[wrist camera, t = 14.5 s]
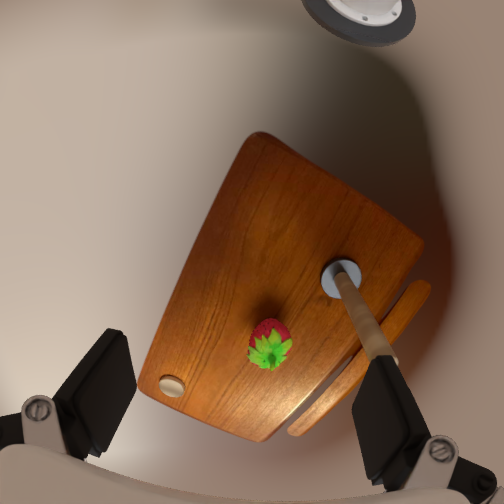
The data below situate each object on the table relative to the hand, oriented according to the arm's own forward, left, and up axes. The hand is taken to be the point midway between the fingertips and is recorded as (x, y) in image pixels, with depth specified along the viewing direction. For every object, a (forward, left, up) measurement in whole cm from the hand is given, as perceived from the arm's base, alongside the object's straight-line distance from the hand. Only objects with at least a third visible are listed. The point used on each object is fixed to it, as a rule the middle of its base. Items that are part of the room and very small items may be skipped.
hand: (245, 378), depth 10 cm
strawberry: (+17, +3, -30) cm, 35 cm away
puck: (+33, -14, -30) cm, 47 cm away
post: (+8, +12, -30) cm, 33 cm away
